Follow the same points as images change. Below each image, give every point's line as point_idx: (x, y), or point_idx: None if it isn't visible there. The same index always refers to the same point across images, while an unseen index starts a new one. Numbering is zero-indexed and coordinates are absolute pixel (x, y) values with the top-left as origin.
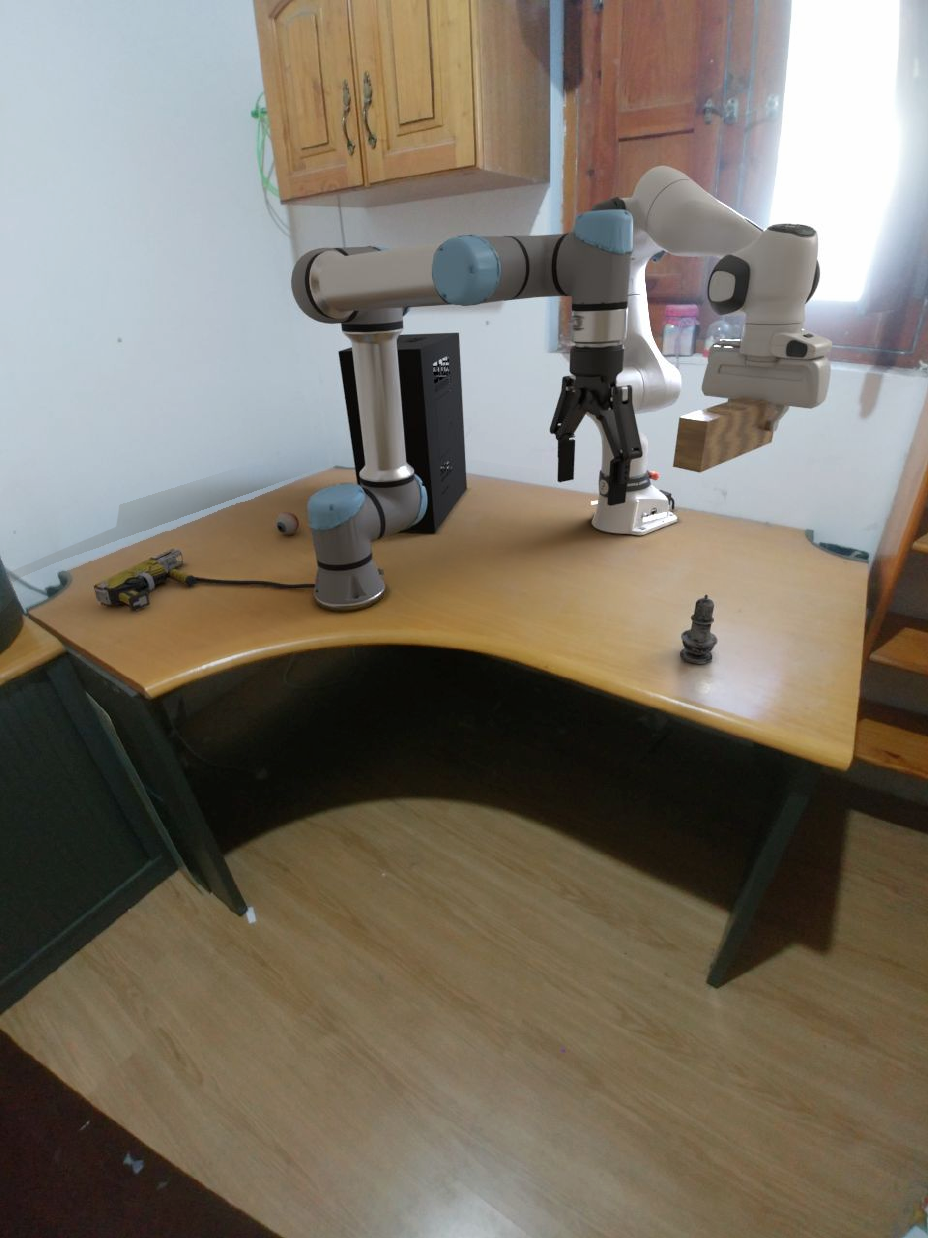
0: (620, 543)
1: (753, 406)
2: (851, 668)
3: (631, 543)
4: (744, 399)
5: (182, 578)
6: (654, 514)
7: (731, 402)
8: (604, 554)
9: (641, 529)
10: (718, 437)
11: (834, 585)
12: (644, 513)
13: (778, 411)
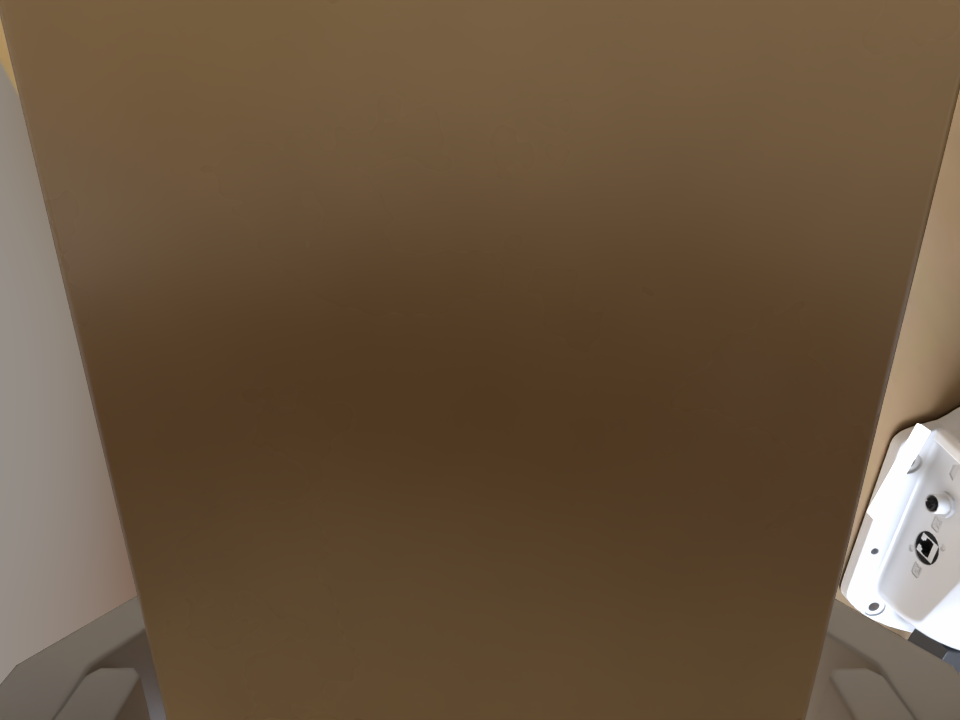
0: (930, 342)
1: (29, 107)
2: (10, 77)
3: (896, 366)
4: (634, 659)
5: None
6: (918, 547)
7: (778, 176)
8: (941, 228)
9: (912, 463)
10: None
11: None
12: (949, 508)
13: (78, 666)
